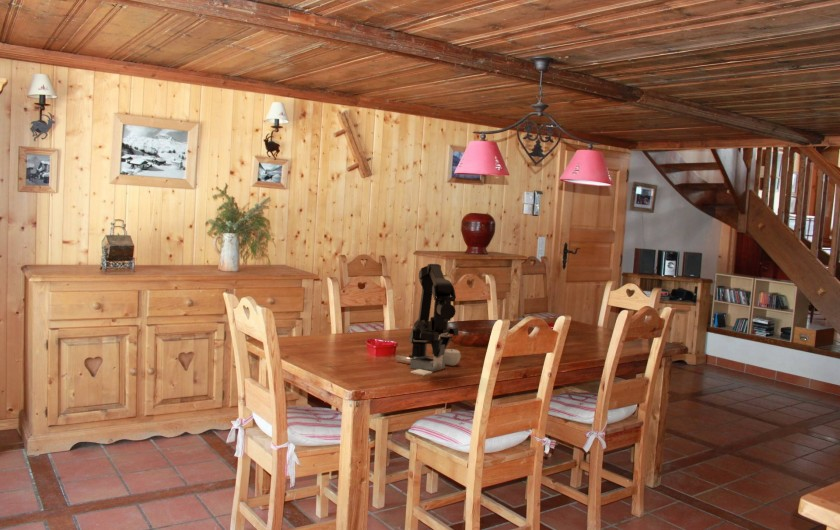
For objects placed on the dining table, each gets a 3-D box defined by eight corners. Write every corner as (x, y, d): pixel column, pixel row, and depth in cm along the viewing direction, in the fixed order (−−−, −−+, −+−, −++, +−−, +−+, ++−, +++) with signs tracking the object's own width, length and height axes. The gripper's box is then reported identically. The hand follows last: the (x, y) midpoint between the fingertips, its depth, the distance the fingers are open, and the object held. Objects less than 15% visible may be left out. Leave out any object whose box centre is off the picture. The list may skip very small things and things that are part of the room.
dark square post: (435, 367, 275) (437, 342, 274) (443, 368, 273) (445, 344, 272) (431, 368, 272) (432, 343, 271) (438, 370, 270) (440, 345, 269)
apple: (439, 365, 292) (441, 350, 291) (441, 362, 299) (443, 346, 299) (459, 367, 291) (460, 352, 290) (460, 363, 298) (462, 348, 298)
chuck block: (403, 359, 298) (404, 351, 298) (444, 368, 287) (445, 359, 287) (389, 363, 290) (390, 354, 290) (431, 372, 279) (431, 363, 279)
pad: (419, 370, 281) (419, 368, 281) (432, 373, 278) (432, 371, 278) (410, 372, 276) (410, 371, 276) (423, 375, 273) (423, 374, 272)
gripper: (436, 310, 283) (433, 348, 284) (409, 314, 267) (406, 355, 269) (460, 314, 277) (457, 353, 278) (434, 318, 261) (431, 360, 263)
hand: (438, 355), depth 272 cm, fingers closed on dark square post, 3 cm apart
